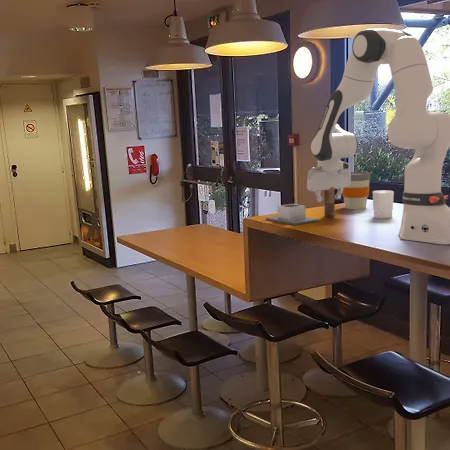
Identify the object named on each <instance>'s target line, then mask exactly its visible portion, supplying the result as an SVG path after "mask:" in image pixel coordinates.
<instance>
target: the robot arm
mask: <svg viewBox="0 0 450 450" xmlns="http://www.w3.org/2000/svg"><path fill="white" fill-rule="evenodd" d="M351 47H352V48H351V52H350V54H349V56H348V58H347V61H346V63H345V64H346V65H345V68H344V70H343V71H344V72H343V75H342V77H341V78H342V79H341V81H340V83H339V85H338V87H337V88H336V90H334V91H333V92H332V93H331V94H330V96H329V98H328V101H327V103H326V105H325V108H324V111H323V113H322V116H321V119H320V122H319V125H318V127H317V130H316V132H315V134H314V136H313V137H312V139H311V141H310V145H309V146H310V153H311V154H312V156H313V157H314V158H315V159H317V166H315V167H314V166H312V167H311V168H310V169H309V170H308V172H307V173H308V174H307V182H306V189H307V190H308V192H314V194H315V196H316V201H317V203H323V202H324V197H323V196H321V194H322V191H324V190H329V189H330V187H334V190H337V192H336V194H334V196H335V200H341V199H342V192H343V188H344V187H349V186H350V184H351V173H350V172H351V170H350V168H351V164H350V163H349V162H346V161H342V160H341V159H348V158H351V157H353V156H355V154H356V153H357V152H358V149H359V142H358V138H357V136H356V135H355V134H354V133H352V132H349V131H346V130H344V129H343V128H341V127H340V124H338V121H339V117H340V116H341V114H342V113H343V112H344V111H346V110H348V109H349V108H350V107H353V106H355V105H357V104H360V103H361V102H363V101H365V100H366V99H367V98H369V96H370V94H371V93H372V92H373V91H372V90H373V87H374V84H375V80H376V77H377V73H378V72H377V71H378V69H379V67H380V66H381V65H388V66H389V69H390V73H391V78H392V82H393V86H394V87H393V88H394V92H395V97H396V98H395V100H396V104H395V105H396V107H395V113H394V115H393V117H392V119H391V120H390V122H389V124H388V126H387V130H386V131H387V132H386V133H387V138H388V140H389V143H391V145H393V146H394V147H395V148H401V149H405V150H406V149H407V150H413V149H415V152H414V154H413V157H412V159H411V160H410V161H409V162H408V163H407V164H406V165H405V167H404V177H403V178H404V179H403V180H404V181H403V182H404V183H403V184H404V186H403V189H404V191H402V205H403V210H402V218H401V224H400V228H399V230H398V236H399V239H400V240H405V241H415V242H421V243H428V244H436V245H443V246H444V245H450V207H449V206H448V205H447V204H446V203H447V201H446V200H448V199H449V194H448V195H444V193H443V192H442V174H443V173H442V171H443V166H444V161H445V159H446V155H447V152H448V151H449V148H450V113H446V112H441V111H433V112H428V110H427V109H428V108H427V102H428V101H427V100H428V98H429V97H430V96H431V94H432V93H433V90H434V87H433V81H432V78H431V73H430V69H429V66H428V65H429V64H428V62H427V61H428V60H427V58H426V54H425V52H424V50H423V47H422V45H421V43H420V41H419V40H418V39H417V38H416V37H415V36H413V35H412V34H411V33H410V32H408V31H405V30H399V29H398V30H396V29H388V28H367V29H363V30H360V31H358V32H357V33H356V35H355V36H354V37H353V40H352V46H351Z"/></svg>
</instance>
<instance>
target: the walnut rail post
mask: <svg viewBox="0 0 450 450" xmlns="http://www.w3.org/2000/svg"><path fill="white" fill-rule="evenodd" d="M323 192H324V194H323V195H324V197H323V202H324V204H323V206H324V207H323V208H324V213H323V214H324V218H326V217H327V218H328V219H330V218H331V217H333V218H335V217H336V216H335V213H336V212H335V210H336V209H335V208H336V207H335V201H336V199H335V189H334V187H330V189H329V190H323ZM331 219H332V218H331Z"/></svg>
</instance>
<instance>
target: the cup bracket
mask: <svg viewBox="0 0 450 450" xmlns="http://www.w3.org/2000/svg"><path fill="white" fill-rule="evenodd" d="M265 220H266V221H269V222H275V223H280V224H284V223H285V224H284V225H289V224H290V226H299V225H300V226H301V225H305V224H312V223H318V221H319V219H318V218H313V217H309V216H308V217H307V216H306V205H303V204H302V205H301V204H296V203H291V204H290V203H289V204H282V205H277V215H275V216H269V217H265Z"/></svg>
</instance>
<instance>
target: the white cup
mask: <svg viewBox="0 0 450 450" xmlns="http://www.w3.org/2000/svg"><path fill="white" fill-rule="evenodd" d="M394 195H395V192H394V191H393V190H387V189H386V190H383V189H382V190H380V189H379V190H373V191H372V206H373V208H372V209H373V217H374V218H376V219H390V218H392V217H393V210H394Z"/></svg>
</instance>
